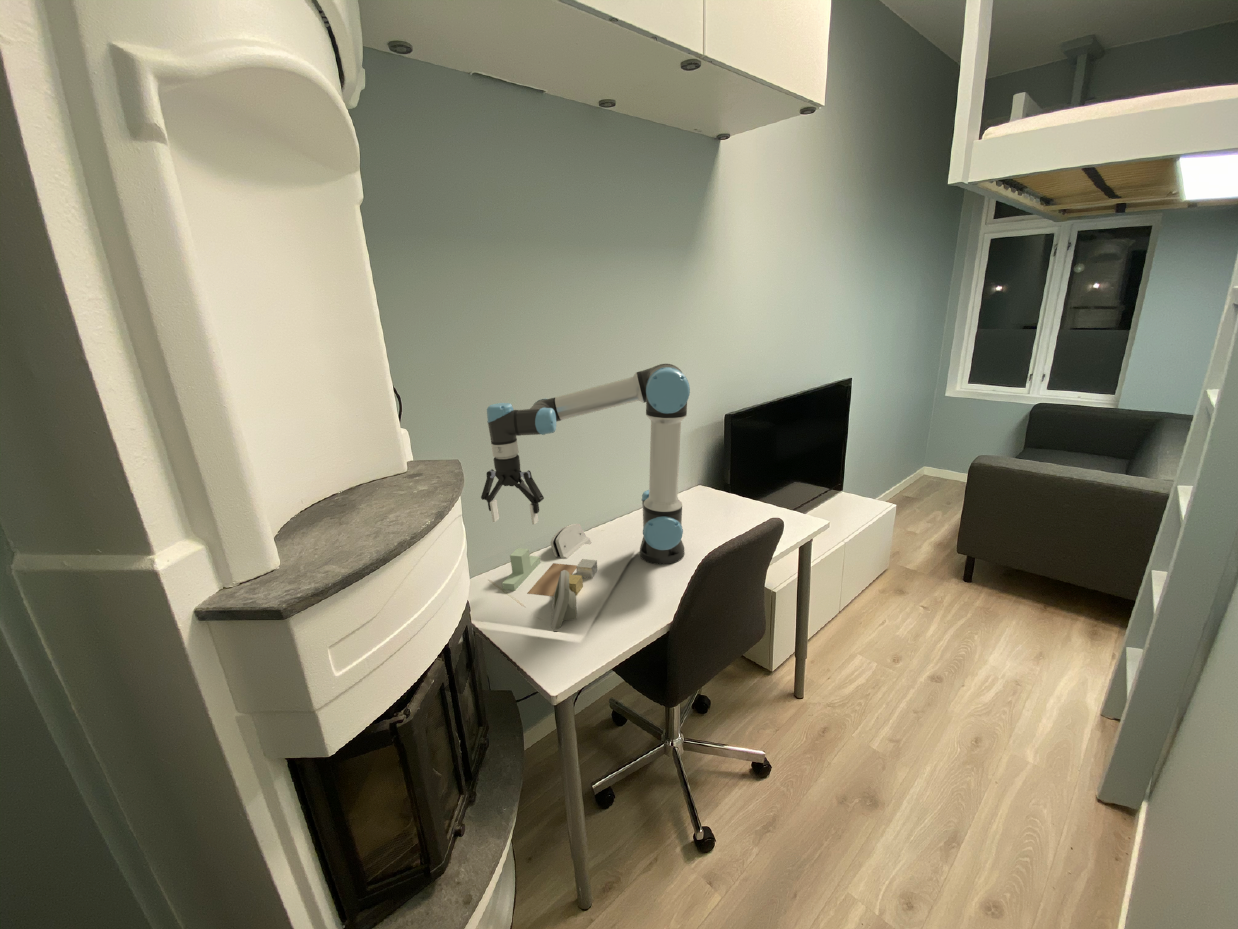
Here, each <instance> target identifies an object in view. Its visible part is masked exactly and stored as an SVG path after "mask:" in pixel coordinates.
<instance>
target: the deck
mask: <svg viewBox="0 0 1238 929" xmlns="http://www.w3.org/2000/svg"><path fill="white" fill-rule="evenodd" d="M577 565H578V564H577ZM577 565H576V564H564V563H552V564H551V565H550V566H549V567H548V569H547V570H546V571H545V572H544V573H543V575H542V576H541V577H540V578H539V579H538V580H537V581H536V582H535V584H533V586H532V587H531V588H530V589H529V590H528V592H526V593H527V594H528V595H536V596H537V595H538V596H545V597H552V598H553V597H554V593H555V590H556V587H557V583H558V580H559V576H560V573H561V571H563V570H566V571H568V572H569V574H571V575H573V573H574V572H575V571H576V570H577V568H576V566H577Z"/></svg>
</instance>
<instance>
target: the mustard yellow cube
mask: <svg viewBox="0 0 1238 929" xmlns="http://www.w3.org/2000/svg"><path fill="white" fill-rule="evenodd" d="M583 581H584V580H583V578H582V576H581V575H577V574H572V575H571V574H569V589H570V590H571V591H572V592H574V593H575V595H576V596H578V595H579V593H580V592H581V590H583V588H584V582H583Z"/></svg>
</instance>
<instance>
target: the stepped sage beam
mask: <svg viewBox="0 0 1238 929" xmlns="http://www.w3.org/2000/svg"><path fill="white" fill-rule="evenodd" d="M509 559H510V566H511V573H510V574H509V575H508V576H507V577H506V578H505V579H504V580H503V581H502V584H501V585H502V590H504V591H512V592H515V591H516V590H517V589H518V588H519V587H520V586H521V585H522V584H523V583H524V581H526V579H527V578H529V577H530V575H531V574H532V573H533V572H534V571H535V569H536V568H537V567H538V566H539V565H540V564H541V557H540V556H535V555H530V549H529V548H519V547H518V548H516V549H515V550H514V551H513V552H512V553H511V554H510V555H509Z"/></svg>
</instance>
